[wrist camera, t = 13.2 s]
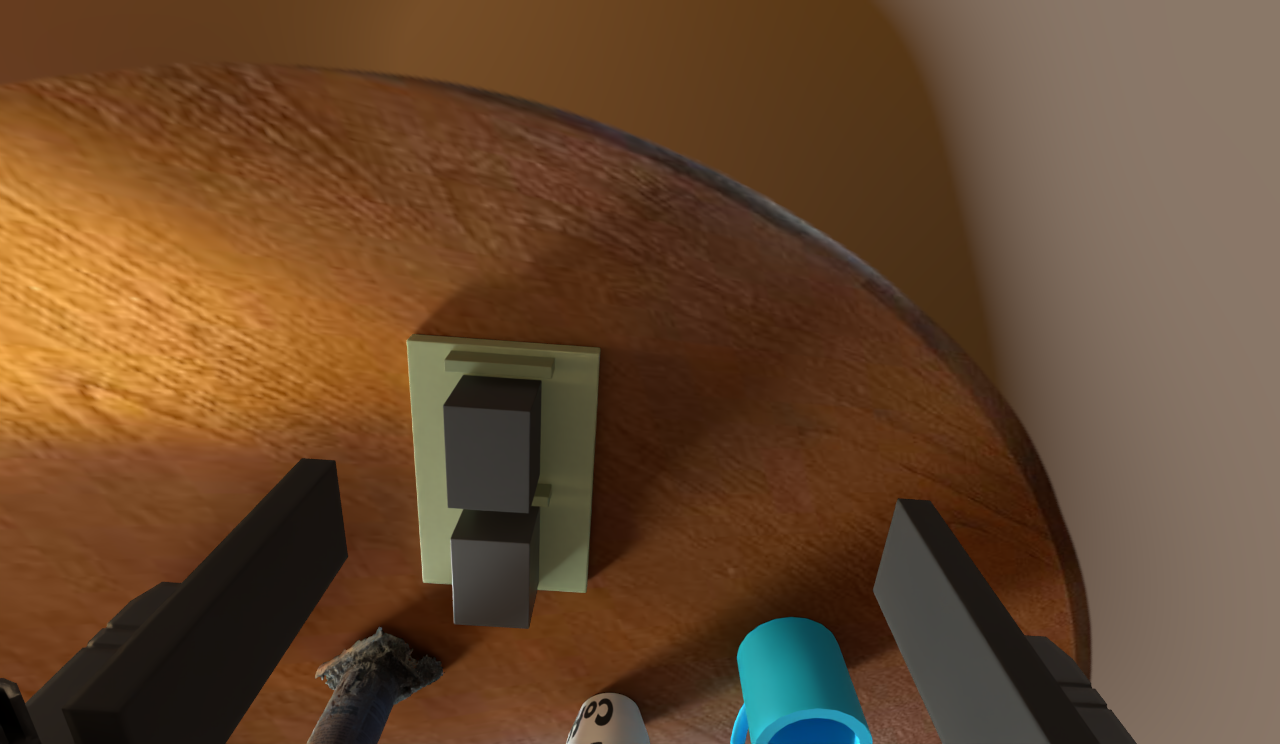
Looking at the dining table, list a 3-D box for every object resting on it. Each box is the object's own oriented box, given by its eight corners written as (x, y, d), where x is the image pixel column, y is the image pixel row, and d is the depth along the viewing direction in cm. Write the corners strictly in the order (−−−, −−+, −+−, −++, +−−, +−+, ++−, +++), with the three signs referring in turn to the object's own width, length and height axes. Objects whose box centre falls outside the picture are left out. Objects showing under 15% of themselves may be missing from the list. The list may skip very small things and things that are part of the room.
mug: (780, 600, 49) (805, 690, 42) (860, 646, 51) (898, 740, 44) (688, 694, 53) (695, 792, 46) (766, 734, 55) (785, 834, 47)
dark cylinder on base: (373, 611, 50) (296, 757, 39) (452, 663, 52) (400, 815, 41) (308, 673, 52) (219, 826, 41) (386, 721, 55) (321, 879, 43)
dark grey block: (462, 374, 41) (442, 405, 37) (541, 380, 41) (530, 411, 37) (466, 469, 44) (447, 508, 39) (540, 474, 44) (529, 513, 40)
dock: (412, 333, 41) (378, 367, 36) (600, 347, 41) (594, 383, 36) (427, 572, 48) (401, 629, 43) (587, 582, 49) (580, 640, 43)
